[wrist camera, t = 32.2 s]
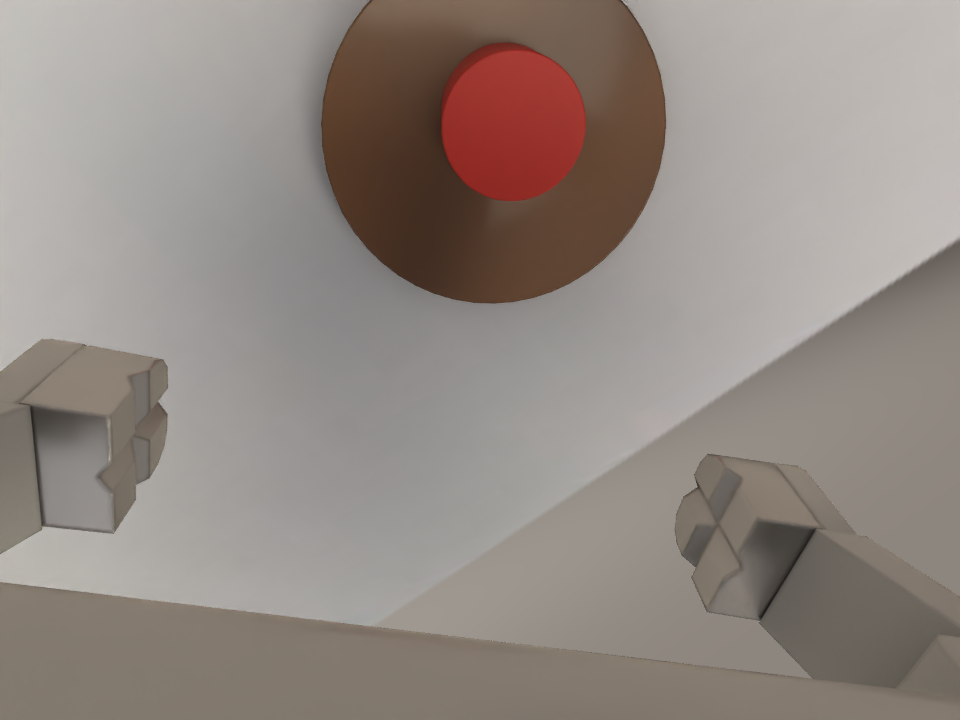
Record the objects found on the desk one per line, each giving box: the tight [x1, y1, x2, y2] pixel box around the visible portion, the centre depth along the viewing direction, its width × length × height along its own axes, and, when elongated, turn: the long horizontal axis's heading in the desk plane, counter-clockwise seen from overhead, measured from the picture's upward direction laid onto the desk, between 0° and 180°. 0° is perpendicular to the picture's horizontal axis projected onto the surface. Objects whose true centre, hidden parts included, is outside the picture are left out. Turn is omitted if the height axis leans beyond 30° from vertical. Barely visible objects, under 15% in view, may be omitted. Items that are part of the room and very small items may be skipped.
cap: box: [441, 42, 586, 201], centre depth 19 cm, size 4×4×3 cm
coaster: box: [321, 0, 666, 303], centre depth 21 cm, size 11×11×1 cm
